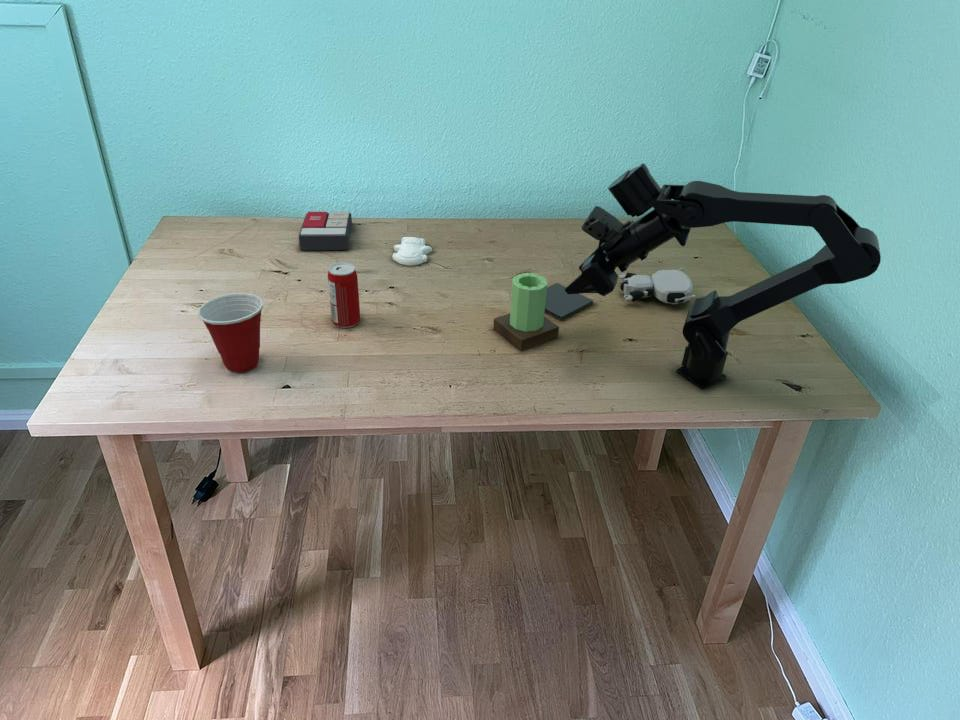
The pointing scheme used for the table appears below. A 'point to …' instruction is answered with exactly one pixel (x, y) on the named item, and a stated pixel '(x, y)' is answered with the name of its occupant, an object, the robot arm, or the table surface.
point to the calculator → (325, 231)
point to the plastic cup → (234, 328)
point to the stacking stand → (525, 333)
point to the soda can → (344, 295)
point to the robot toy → (658, 286)
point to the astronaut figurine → (411, 251)
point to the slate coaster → (564, 302)
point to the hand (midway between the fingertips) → (573, 280)
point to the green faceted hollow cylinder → (528, 302)
